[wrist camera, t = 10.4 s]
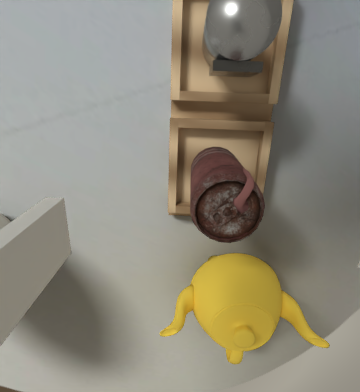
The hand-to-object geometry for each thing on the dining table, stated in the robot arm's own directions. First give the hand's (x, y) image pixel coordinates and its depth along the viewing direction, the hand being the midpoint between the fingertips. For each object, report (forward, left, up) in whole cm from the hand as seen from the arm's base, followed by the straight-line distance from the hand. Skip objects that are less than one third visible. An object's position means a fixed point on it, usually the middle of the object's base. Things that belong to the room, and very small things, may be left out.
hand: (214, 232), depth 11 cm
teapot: (+22, +6, -25) cm, 34 cm away
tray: (-4, +2, -25) cm, 25 cm away
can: (+3, +2, -23) cm, 23 cm away
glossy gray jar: (-11, +2, -23) cm, 25 cm away
